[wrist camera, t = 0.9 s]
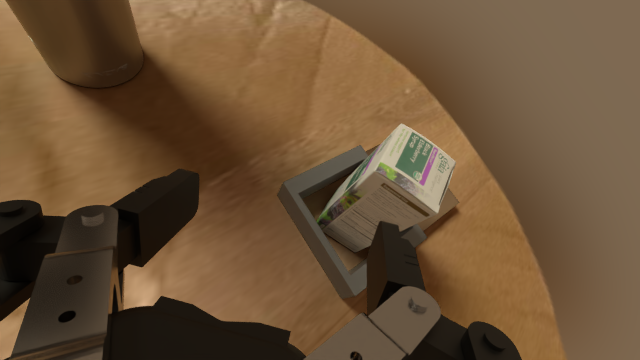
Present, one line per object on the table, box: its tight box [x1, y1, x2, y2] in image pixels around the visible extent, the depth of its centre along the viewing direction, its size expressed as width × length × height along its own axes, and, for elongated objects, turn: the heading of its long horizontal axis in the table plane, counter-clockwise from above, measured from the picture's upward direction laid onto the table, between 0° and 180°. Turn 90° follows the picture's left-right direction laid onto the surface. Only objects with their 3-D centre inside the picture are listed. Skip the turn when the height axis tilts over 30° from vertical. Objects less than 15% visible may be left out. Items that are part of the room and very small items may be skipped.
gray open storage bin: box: [277, 145, 427, 299], centre depth 33 cm, size 13×11×4 cm
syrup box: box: [316, 124, 456, 253], centre depth 28 cm, size 6×6×14 cm
